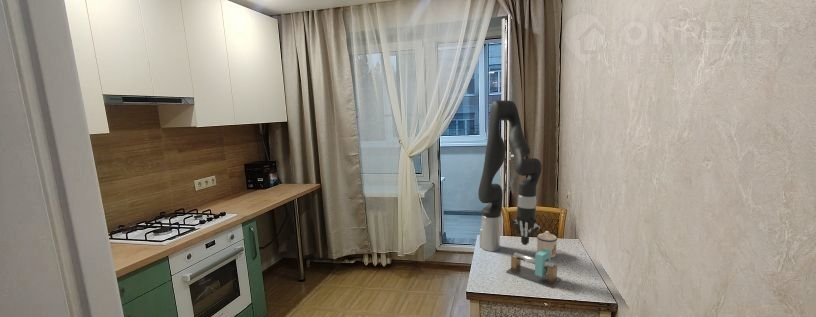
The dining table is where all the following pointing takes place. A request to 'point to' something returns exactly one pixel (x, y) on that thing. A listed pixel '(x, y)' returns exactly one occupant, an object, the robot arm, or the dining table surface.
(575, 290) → the dining table surface
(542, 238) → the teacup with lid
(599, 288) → the dining table surface
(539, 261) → the collar
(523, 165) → the robot arm
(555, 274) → the pipe rig
